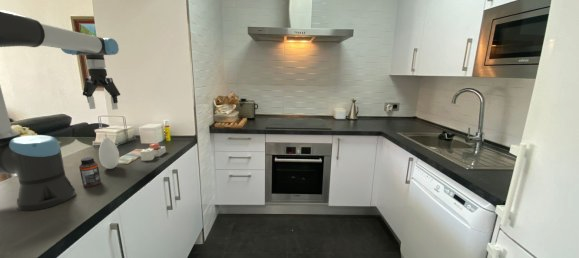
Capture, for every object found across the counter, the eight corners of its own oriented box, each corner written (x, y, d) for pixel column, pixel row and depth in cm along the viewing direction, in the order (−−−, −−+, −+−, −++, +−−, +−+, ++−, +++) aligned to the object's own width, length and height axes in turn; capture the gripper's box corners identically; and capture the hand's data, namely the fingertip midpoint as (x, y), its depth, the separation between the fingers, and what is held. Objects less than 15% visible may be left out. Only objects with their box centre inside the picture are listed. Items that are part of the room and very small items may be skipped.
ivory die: (151, 160, 131) (150, 150, 129) (141, 160, 130) (140, 151, 128) (154, 157, 135) (153, 148, 134) (144, 157, 134) (143, 148, 133)
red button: (157, 150, 137) (156, 145, 137) (148, 150, 137) (147, 145, 137) (161, 148, 142) (160, 143, 141) (152, 148, 142) (152, 143, 141)
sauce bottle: (103, 166, 121) (97, 131, 117) (122, 164, 124) (116, 129, 121) (99, 172, 114) (92, 135, 110) (119, 169, 117) (113, 133, 114)
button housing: (159, 156, 136) (158, 150, 136) (144, 156, 136) (143, 150, 135) (165, 152, 144) (165, 146, 144) (152, 152, 144) (151, 146, 143)
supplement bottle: (86, 182, 104) (81, 157, 101) (103, 180, 106) (98, 155, 103) (80, 188, 98) (75, 161, 96) (98, 186, 100) (93, 159, 98)
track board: (127, 164, 124) (126, 162, 124) (108, 164, 124) (108, 162, 124) (151, 150, 148) (151, 148, 148) (136, 150, 147) (135, 148, 147)
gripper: (124, 68, 129) (130, 108, 133) (82, 68, 132) (89, 107, 137) (112, 68, 121) (119, 110, 126) (68, 68, 125) (76, 109, 129)
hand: (103, 109), depth 131 cm, fingers open, 13 cm apart
